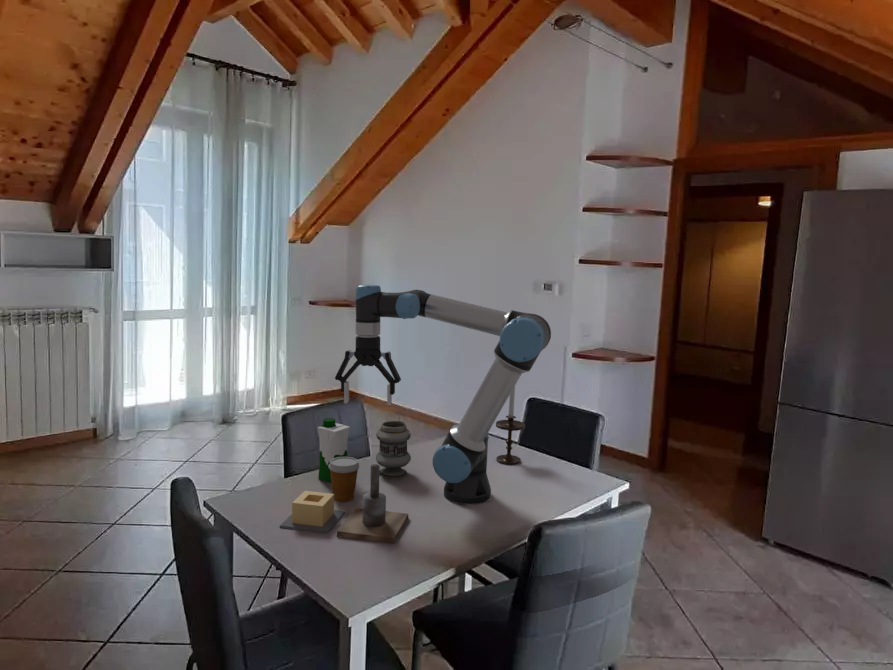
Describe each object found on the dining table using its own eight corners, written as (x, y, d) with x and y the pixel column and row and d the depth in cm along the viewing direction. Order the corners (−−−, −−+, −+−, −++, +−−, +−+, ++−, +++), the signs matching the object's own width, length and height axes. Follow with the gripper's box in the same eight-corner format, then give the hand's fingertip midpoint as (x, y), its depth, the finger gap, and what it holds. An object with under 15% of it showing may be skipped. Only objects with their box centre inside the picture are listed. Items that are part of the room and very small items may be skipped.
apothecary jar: (368, 472, 221) (369, 422, 219) (395, 465, 229) (397, 416, 227) (389, 482, 213) (390, 430, 210) (417, 474, 221) (418, 424, 218)
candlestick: (491, 456, 243) (496, 366, 238) (519, 456, 245) (524, 366, 240) (496, 465, 233) (501, 372, 228) (525, 465, 234) (531, 372, 229)
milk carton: (332, 471, 220) (332, 415, 218) (352, 477, 216) (353, 420, 213) (314, 479, 213) (314, 421, 210) (334, 485, 208) (335, 426, 206)
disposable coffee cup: (352, 506, 193) (353, 468, 191) (323, 502, 195) (323, 464, 193) (363, 494, 202) (363, 458, 200) (334, 490, 204) (335, 454, 202)
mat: (344, 512, 188) (345, 511, 188) (327, 533, 174) (327, 531, 174) (300, 507, 190) (300, 505, 190) (279, 527, 177) (279, 525, 177)
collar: (333, 513, 186) (334, 493, 185) (322, 526, 177) (322, 506, 176) (304, 510, 187) (305, 490, 186) (292, 522, 178) (292, 502, 178)
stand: (408, 518, 185) (410, 459, 183) (393, 543, 170) (395, 478, 167) (355, 512, 188) (356, 453, 186) (336, 536, 173) (337, 472, 170)
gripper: (410, 335, 196) (409, 402, 199) (332, 332, 199) (332, 398, 202) (405, 338, 189) (405, 408, 191) (324, 335, 192) (325, 404, 195)
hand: (367, 403), depth 197 cm, fingers open, 13 cm apart
